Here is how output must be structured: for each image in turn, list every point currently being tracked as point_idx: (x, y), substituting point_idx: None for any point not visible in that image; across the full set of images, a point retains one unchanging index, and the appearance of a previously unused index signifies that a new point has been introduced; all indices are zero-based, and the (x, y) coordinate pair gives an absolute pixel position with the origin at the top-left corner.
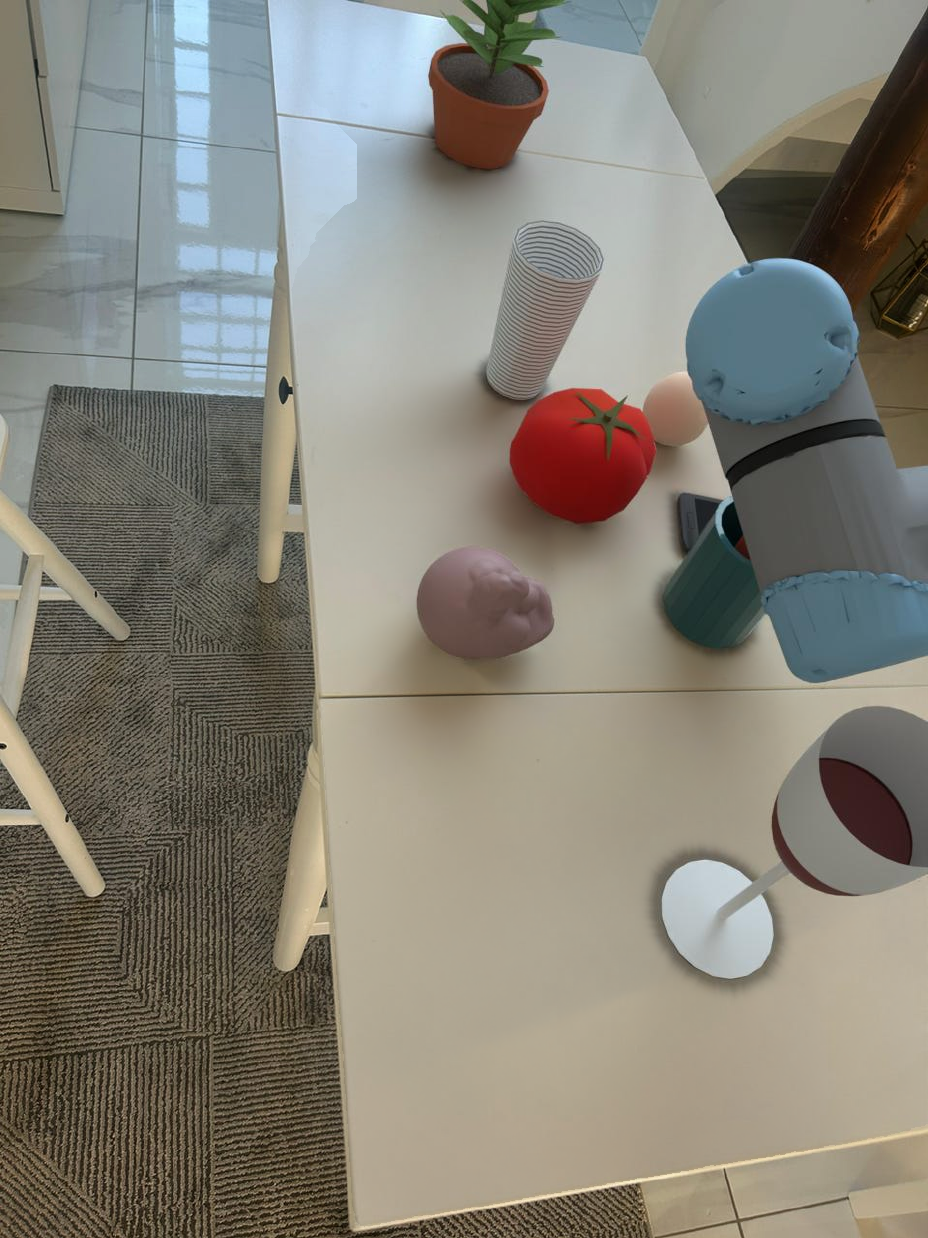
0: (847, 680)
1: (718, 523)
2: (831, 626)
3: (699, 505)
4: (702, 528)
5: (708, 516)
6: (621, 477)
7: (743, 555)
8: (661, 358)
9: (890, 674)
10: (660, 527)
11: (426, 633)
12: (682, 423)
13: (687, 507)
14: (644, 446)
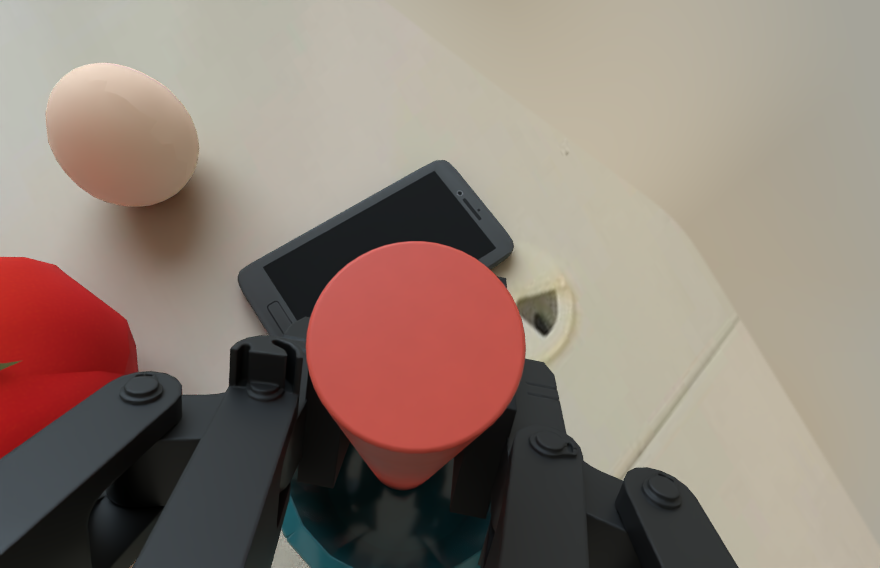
0: (659, 402)
1: (291, 527)
2: None
3: (278, 275)
4: None
5: (303, 285)
6: None
7: (398, 489)
8: (81, 32)
9: (698, 332)
10: None
11: None
12: (141, 172)
13: (261, 296)
14: (43, 360)
